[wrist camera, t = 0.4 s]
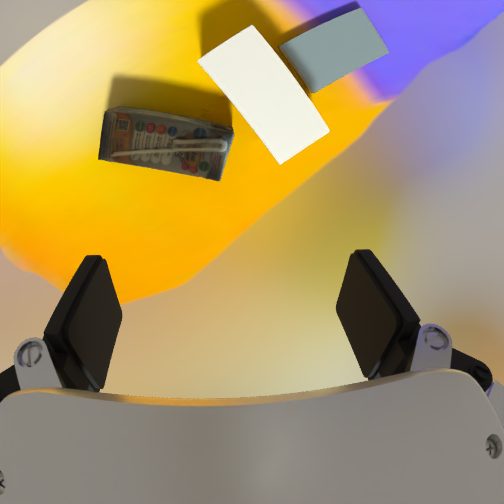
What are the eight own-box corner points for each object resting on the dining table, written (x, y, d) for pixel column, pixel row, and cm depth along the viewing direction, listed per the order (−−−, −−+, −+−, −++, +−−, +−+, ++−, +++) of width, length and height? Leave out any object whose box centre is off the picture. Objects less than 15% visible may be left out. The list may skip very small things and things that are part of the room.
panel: (277, 47, 34) (280, 45, 32) (354, 10, 30) (360, 7, 28) (309, 92, 38) (314, 92, 36) (382, 53, 34) (389, 52, 32)
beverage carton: (220, 172, 44) (220, 186, 39) (109, 151, 40) (93, 162, 34) (234, 126, 40) (236, 132, 35) (117, 105, 36) (100, 108, 30)
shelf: (202, 67, 34) (196, 61, 27) (245, 38, 32) (252, 24, 25) (268, 149, 43) (280, 164, 35) (309, 122, 41) (330, 131, 33)
